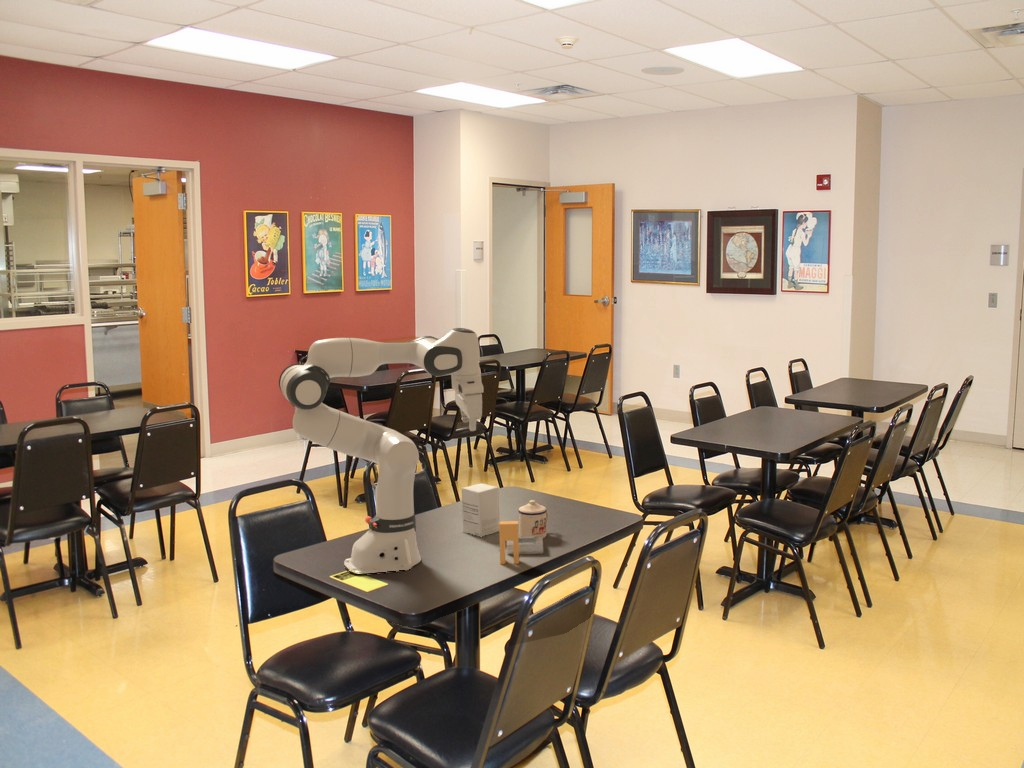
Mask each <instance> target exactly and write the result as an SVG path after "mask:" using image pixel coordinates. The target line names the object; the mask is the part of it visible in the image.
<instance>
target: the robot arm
mask: <svg viewBox="0 0 1024 768" xmlns="http://www.w3.org/2000/svg"><path fill="white" fill-rule="evenodd" d="M480 358H481V352H480V343H479V338H478V335H477V333H476V332H475V331H474V330H472V329H469V328H465V327H464V328H463V327H455V328H452V329H450V331H449V332H448V333H447V334H446V335H445V336H443V337H441V338H440V339H439V338H437V337H434V336H433V335H432V336H431V335H424V336H420V337H417V338H416V339H414V340H413V339H412V340H410V341H397V342H396V341H391V342H390V341H388V342H386V341H385V342H383V341H376V340H370V339H366V338H359V337H358V338H357V337H333V338H324V339H319V340H316V341H314V342H313V343H312V344H311V345H310V346H309V350H308V352H307V359H306V362H305V363H294V364H290V365H288V366H287V367H286V368H284V369H283V370H282V372H281V373H280V375H279V379H278V386H279V389H280V391H281V392H280V393H282V395H283V396H284V398H285V399H286V400H287V401H288V402H289V403H290V404H291V405H292V406H293V407H294V409H295V410H294V414H293V417H292V428H293V431H294V432H295V433H296V434H298V435H299V436H301V437H303V439H304V438H305V439H306V440H308V441H310V442H312V443H314V444H317V445H319V446H322V447H324V448H327V449H331V450H333V451H336V452H338V453H341V454H343V455H347V456H349V457H354V458H358V459H362V460H365V461H369V462H371V463H375V464H377V465H378V478H377V483H376V484H377V485H376V487H375V490H374V492H375V493H374V495H375V513H376V514H375V515H374V516H373V518H372V517H371V516H369V515H367V516H366V517H364V520H365V522H366V524H368V525H369V529H368V530H367V531H366V532H365V533H364V534H362V536H360V537H359V539H357V540H355V542H354V543H353V545H352V549H351V553H350V554H351V555H350V557H349V558H346V559H345V560H344V561H343V563H344V564H343V566H344V565H345V566H346V567H347V568H348V569H349V570H351V571H354V572H357V573H375V572H386V573H388V572H387V571H396V572H400V571H399V570H405V571H409V569H410V570H412V568H413V567H414V566H415V565H417V564H419V563H421V560H422V558H421V554H420V551H419V547H418V543H417V535H416V532H417V518H416V513H415V506H414V504H415V503H414V484H415V483H414V482H415V477H416V470H417V465H418V463H419V460H420V454H419V450H418V448H417V445H416V444H415V442H414V441H413V440H412V439H411V438H409V437H408V436H406V435H404V434H402V433H401V432H399V431H397V430H396V429H392V428H389V427H388V426H387V427H386V426H384V425H381V424H379V423H375V422H373V421H369V420H365V419H363V418H360V417H357V416H355V415H353V414H349V413H347V412H343V411H342V410H338V409H336V408H333V407H331V406H328V405H327V404H326V403H323V401H324V399H325V397H326V396H327V395H326V394H327V391H328V388H329V385H330V383H331V379H332V378H358V377H366V376H371V375H372V374H374V373H375V372H376V371H377V369H378V368H379V367H380V366H382V365H387V364H411V365H414V366H417V367H418V368H420V369H422V370H423V371H425V372H426V373H428V374H429V375H431V376H434V377H443V376H447V375H450V376H451V388H452V390H454V401H455V404H456V405H457V407H458V408H459V411H460V415H461V420H462V422H463V423H465V424H466V423H468V422H469V424H468V430H469V431H470V432H475V431H476V430H477V422H478V420H481V418H482V416H483V393H484V385H483V382H482V371H481V367H480Z"/></svg>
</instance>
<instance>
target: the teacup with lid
mask: <svg viewBox="0 0 1024 768" xmlns="http://www.w3.org/2000/svg"><path fill="white" fill-rule="evenodd" d="M518 514H519V515H518V519H519V520H518V530H519V537H525V536H542V539H544V538H545V537H546V536H547V523H548V520H549V512H548V509H547V507H545V506H544V505H541V504H539V503H537V502H536V500H534V499H530V500H529V502H528V503H526V504H524V505H521V506H520V507H519V508H518Z"/></svg>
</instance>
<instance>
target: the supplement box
mask: <svg viewBox="0 0 1024 768" xmlns="http://www.w3.org/2000/svg"><path fill="white" fill-rule="evenodd" d="M499 491H500V489H499V486H494V485H491V484H486V483H482V482H481V483H477V484H472V485H469V486H465V487H462V488H461V507H462V508H461V510H462V511H461V512H462V533H465V532H467V533H466V534H468V533H470V534H469V535H472V534H474V535H473V536H475V535H477V536H476V537H479V536H480V538H482V537H481V536H483V537H486V536H488V535H492V534H495V533H497V532H498V533H499V521H500V520H501V519H500V518H501V517H500V494H499V493H500V492H499ZM485 535H486V536H485Z"/></svg>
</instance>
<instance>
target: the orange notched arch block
mask: <svg viewBox="0 0 1024 768" xmlns="http://www.w3.org/2000/svg"><path fill="white" fill-rule="evenodd" d="M498 533H499V564H500V565H506V542H507V541H513V544H514V554H513V565H514V564H515V565H519V564H520V554H519V537H520V534H519V520H508V521H507V520H504V521H503V520H501V521H499V531H498Z"/></svg>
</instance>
